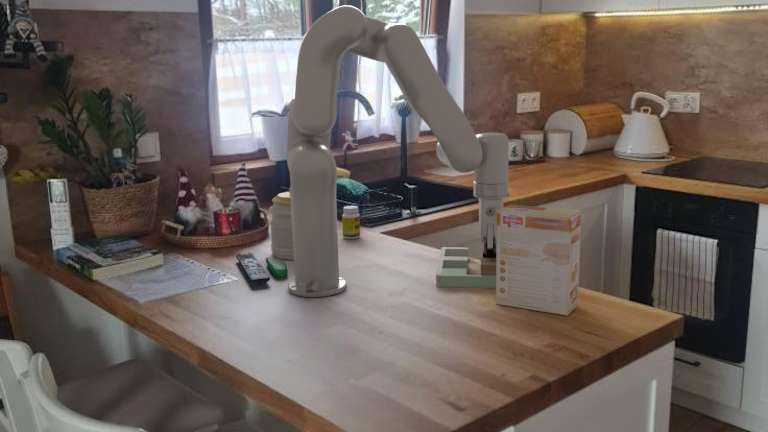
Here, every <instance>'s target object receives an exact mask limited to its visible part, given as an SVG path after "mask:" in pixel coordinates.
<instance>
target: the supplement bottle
mask: <svg viewBox="0 0 768 432" xmlns="http://www.w3.org/2000/svg"><path fill="white" fill-rule="evenodd" d="M341 216H342V217H341V218H342V220H341V221H342V237H343V238H344V239H345V240H346V239H347V240H354V239H359V238H361V222H360V221H361V220H360V219H361V218H360V216H361V215H360V213H359V206H357V205H346V206H344V207H343V214H342V215H341Z"/></svg>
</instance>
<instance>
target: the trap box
mask: <svg viewBox="0 0 768 432" xmlns="http://www.w3.org/2000/svg"><path fill="white" fill-rule="evenodd" d="M468 267H469V247H462V246H461V247H460V246H459V247H458V246H457V247H454V246H453V247H452V246H450V247H449V246H448V247H447V246H444V247H443V246H442V247H441V248H440V254H439V258H438V263H437V269H436V274H435V287H436V288H437V287H438V288H477V289H478V288H479V289H480V288H483V289H484V288H487V289H490V288H491V289H496V275H481V274H468V269H469V268H468Z"/></svg>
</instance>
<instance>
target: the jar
mask: <svg viewBox="0 0 768 432" xmlns="http://www.w3.org/2000/svg"><path fill="white" fill-rule="evenodd" d="M271 202H272V203H273V205H271V206H270V207H269V208H268V211H269V213H270V215H271V219H270V221H269V225H270V236H271V244H270V247H271V249H270V250H271V252H272V256H273V257H274V258H276V259H280V260H288V261H294V250H293V229H292V212H291V185H289V188H288V191H283V192H280V193H278V194H276V196H275V197H273V198H272V199H271Z"/></svg>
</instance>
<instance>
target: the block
mask: <svg viewBox="0 0 768 432" xmlns="http://www.w3.org/2000/svg"><path fill="white" fill-rule="evenodd" d="M480 275H496V258H483V257H480Z"/></svg>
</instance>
